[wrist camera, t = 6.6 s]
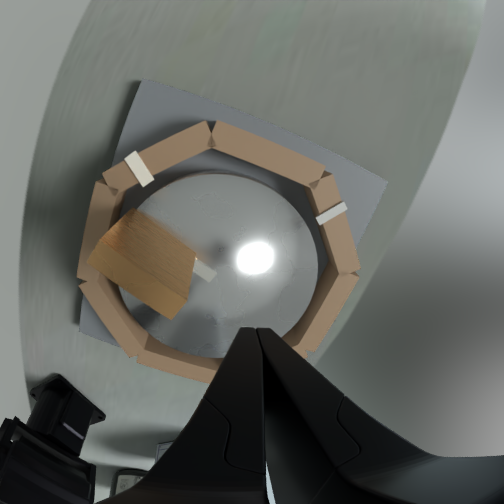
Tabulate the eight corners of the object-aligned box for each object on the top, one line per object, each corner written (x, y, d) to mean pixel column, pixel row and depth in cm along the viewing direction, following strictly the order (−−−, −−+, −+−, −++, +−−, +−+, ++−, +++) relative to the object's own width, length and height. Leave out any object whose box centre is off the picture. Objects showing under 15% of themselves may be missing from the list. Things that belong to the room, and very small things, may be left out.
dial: (346, 251, 19) (395, 305, 13) (232, 366, 22) (237, 438, 16) (196, 126, 16) (179, 123, 10) (91, 277, 19) (48, 338, 12)
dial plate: (271, 380, 25) (276, 408, 22) (83, 324, 21) (69, 348, 18) (381, 179, 19) (405, 188, 16) (146, 80, 16) (132, 72, 13)
